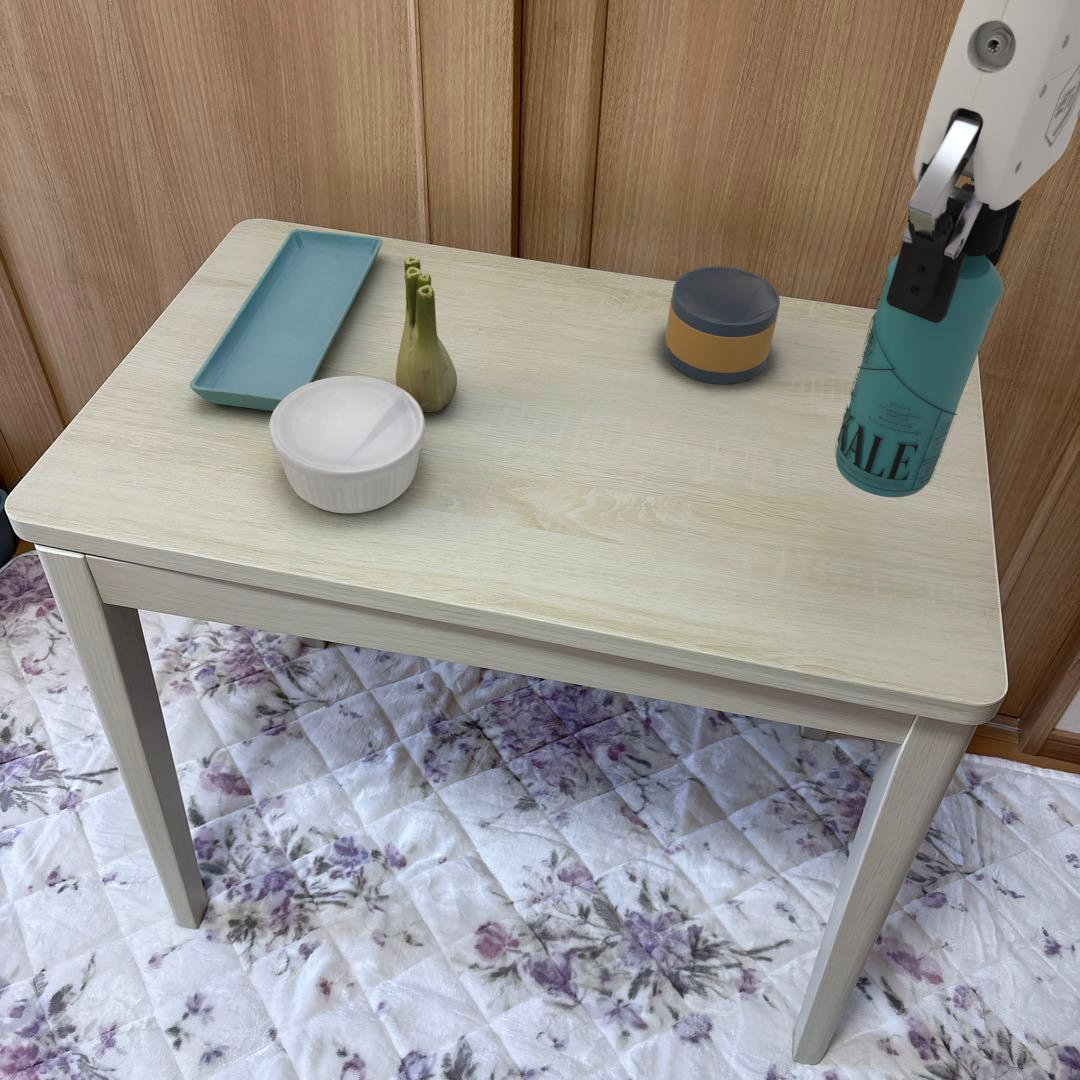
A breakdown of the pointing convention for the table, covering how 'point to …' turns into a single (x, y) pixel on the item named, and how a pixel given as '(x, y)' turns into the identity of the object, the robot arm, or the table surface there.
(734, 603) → the table surface
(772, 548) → the table surface
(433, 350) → the fennel bulb
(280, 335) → the shallow long dish
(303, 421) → the ramekin
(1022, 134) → the robot arm
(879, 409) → the beverage bottle
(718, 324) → the tin can
